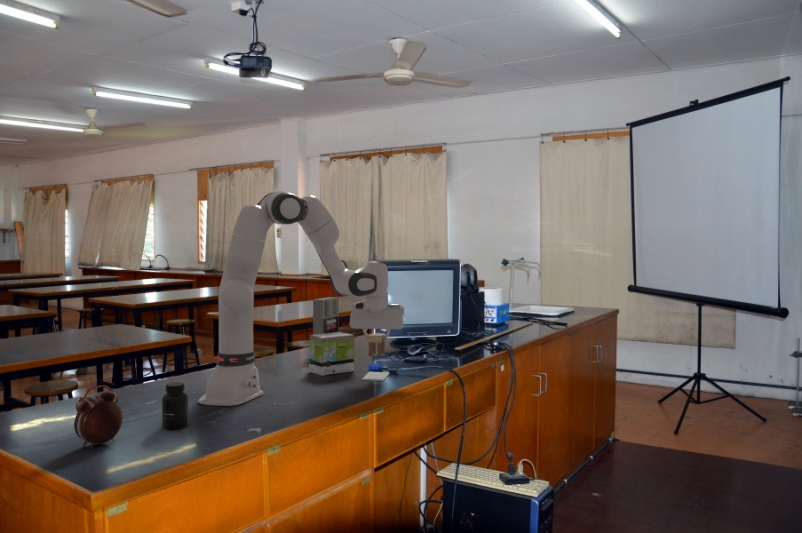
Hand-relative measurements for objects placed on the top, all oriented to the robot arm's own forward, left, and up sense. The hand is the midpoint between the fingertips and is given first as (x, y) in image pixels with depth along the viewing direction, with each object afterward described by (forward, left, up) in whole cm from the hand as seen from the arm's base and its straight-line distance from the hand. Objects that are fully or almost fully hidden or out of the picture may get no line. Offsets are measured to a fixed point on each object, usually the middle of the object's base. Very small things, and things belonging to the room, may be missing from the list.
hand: (376, 340), depth 229 cm
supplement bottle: (-70, +42, -14) cm, 83 cm away
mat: (0, 0, -14) cm, 14 cm away
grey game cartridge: (+43, +32, -14) cm, 56 cm away
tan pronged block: (0, 0, -5) cm, 5 cm away
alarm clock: (-87, +53, -14) cm, 103 cm away
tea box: (+6, +19, -14) cm, 25 cm away
